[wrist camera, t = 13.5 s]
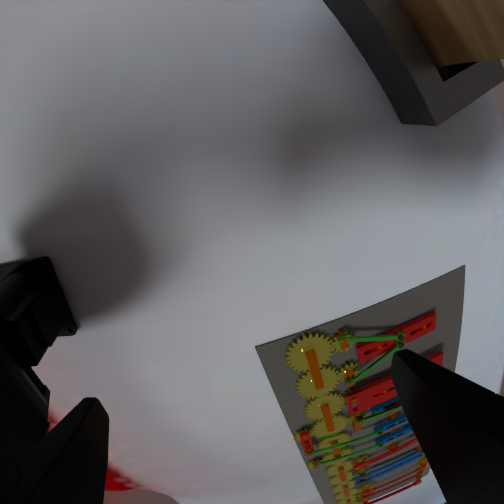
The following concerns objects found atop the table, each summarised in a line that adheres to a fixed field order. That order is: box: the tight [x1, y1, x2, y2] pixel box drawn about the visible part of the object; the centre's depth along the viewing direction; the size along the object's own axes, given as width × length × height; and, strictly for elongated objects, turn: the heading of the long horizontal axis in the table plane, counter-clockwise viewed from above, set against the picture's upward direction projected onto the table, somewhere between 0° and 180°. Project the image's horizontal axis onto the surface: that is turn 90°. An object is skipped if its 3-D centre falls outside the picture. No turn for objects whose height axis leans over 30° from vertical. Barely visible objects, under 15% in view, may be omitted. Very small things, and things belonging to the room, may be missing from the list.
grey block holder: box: [323, 0, 504, 126], centre depth 14 cm, size 9×11×4 cm
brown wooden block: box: [395, 0, 504, 67], centre depth 10 cm, size 3×5×13 cm, turn 34°
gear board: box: [255, 265, 465, 504], centre depth 32 cm, size 45×2×19 cm
